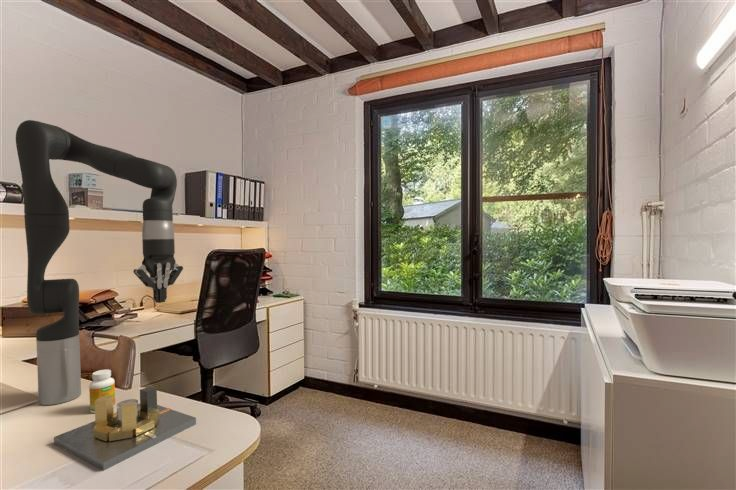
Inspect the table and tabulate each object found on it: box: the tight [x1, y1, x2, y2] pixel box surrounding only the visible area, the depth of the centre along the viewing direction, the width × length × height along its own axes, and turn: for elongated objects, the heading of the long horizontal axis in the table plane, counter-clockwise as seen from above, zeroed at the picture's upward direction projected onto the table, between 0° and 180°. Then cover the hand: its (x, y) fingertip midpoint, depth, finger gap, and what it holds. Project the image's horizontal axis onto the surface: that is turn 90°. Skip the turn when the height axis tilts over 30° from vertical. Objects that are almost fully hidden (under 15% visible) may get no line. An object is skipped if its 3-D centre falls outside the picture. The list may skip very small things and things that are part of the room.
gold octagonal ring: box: [93, 385, 160, 441], centre depth 86 cm, size 12×12×7 cm
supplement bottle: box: [88, 368, 116, 414], centre depth 98 cm, size 5×5×10 cm
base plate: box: [53, 398, 197, 471], centre depth 85 cm, size 20×20×7 cm
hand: (160, 302), depth 102 cm, fingers closed
